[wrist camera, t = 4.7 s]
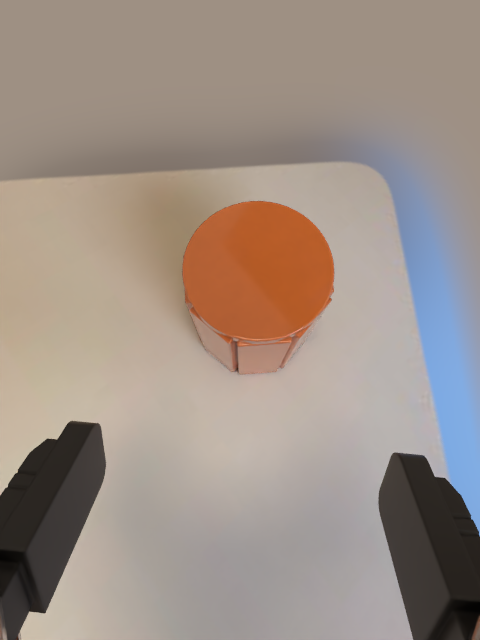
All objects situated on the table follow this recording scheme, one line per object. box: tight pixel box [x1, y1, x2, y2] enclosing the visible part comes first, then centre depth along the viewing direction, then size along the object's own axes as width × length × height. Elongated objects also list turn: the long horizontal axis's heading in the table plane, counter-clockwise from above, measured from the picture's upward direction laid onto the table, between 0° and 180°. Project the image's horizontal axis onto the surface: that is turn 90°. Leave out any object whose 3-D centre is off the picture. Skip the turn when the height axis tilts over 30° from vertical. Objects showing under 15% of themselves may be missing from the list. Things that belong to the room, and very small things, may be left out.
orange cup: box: [182, 201, 334, 375], centre depth 20 cm, size 6×6×8 cm
